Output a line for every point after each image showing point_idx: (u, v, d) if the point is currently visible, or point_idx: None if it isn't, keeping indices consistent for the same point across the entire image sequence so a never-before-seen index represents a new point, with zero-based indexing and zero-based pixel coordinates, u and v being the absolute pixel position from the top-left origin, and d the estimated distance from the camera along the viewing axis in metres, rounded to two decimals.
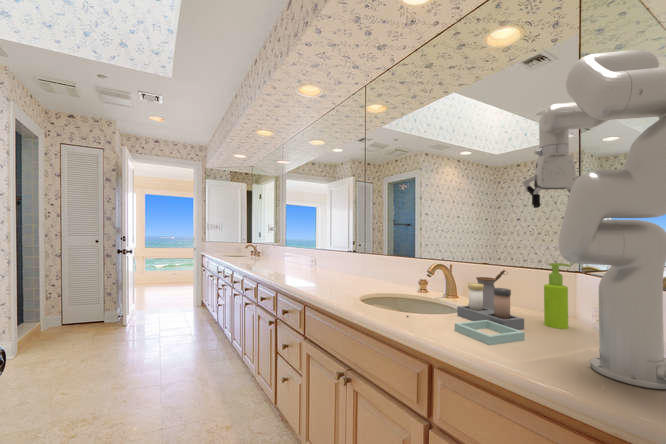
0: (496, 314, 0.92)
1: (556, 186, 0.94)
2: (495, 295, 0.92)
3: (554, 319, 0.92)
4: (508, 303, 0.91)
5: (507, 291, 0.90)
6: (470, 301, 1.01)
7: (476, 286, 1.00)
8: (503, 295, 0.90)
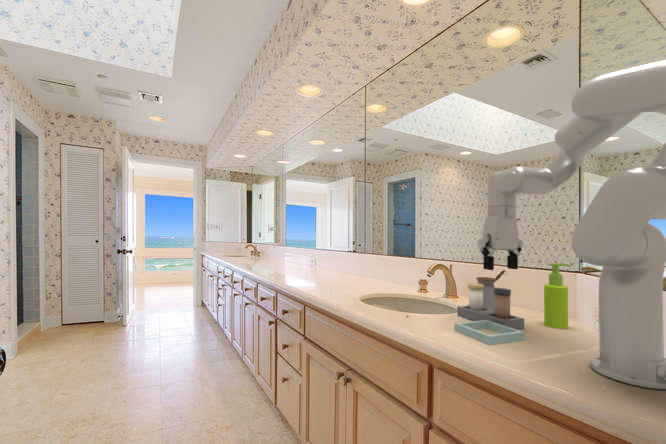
0: (496, 314, 0.92)
1: None
2: (495, 295, 0.92)
3: (554, 319, 0.92)
4: (508, 303, 0.91)
5: (507, 291, 0.90)
6: (470, 301, 1.01)
7: (476, 286, 1.00)
8: (503, 295, 0.90)
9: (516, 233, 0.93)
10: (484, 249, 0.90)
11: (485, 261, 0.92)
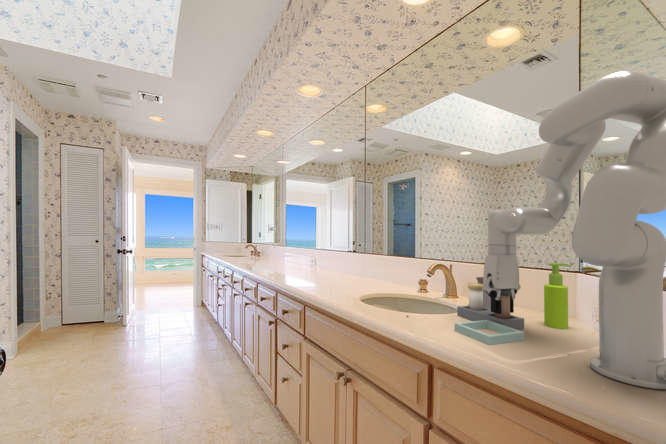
0: (496, 314, 0.92)
1: None
2: None
3: (554, 319, 0.92)
4: (508, 303, 0.91)
5: (507, 291, 0.90)
6: (470, 301, 1.01)
7: (476, 286, 1.00)
8: (503, 295, 0.90)
9: (517, 272, 0.92)
10: (491, 293, 0.90)
11: (492, 304, 0.91)
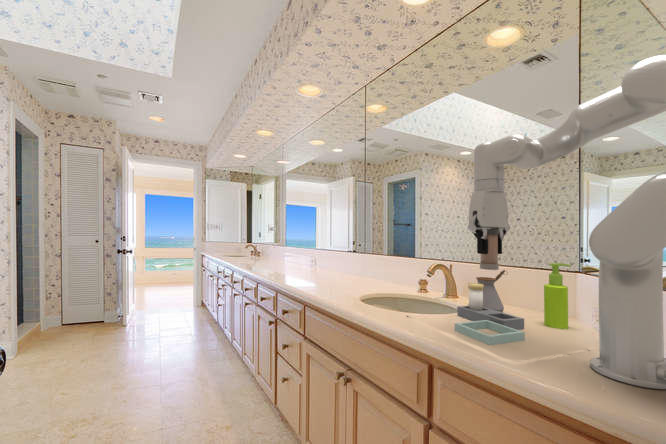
0: (482, 255, 0.85)
1: None
2: None
3: (554, 319, 0.92)
4: (495, 243, 0.83)
5: (494, 229, 0.83)
6: (470, 301, 1.01)
7: (476, 286, 1.00)
8: (490, 234, 0.83)
9: (505, 210, 0.85)
10: (477, 231, 0.83)
11: (479, 245, 0.84)
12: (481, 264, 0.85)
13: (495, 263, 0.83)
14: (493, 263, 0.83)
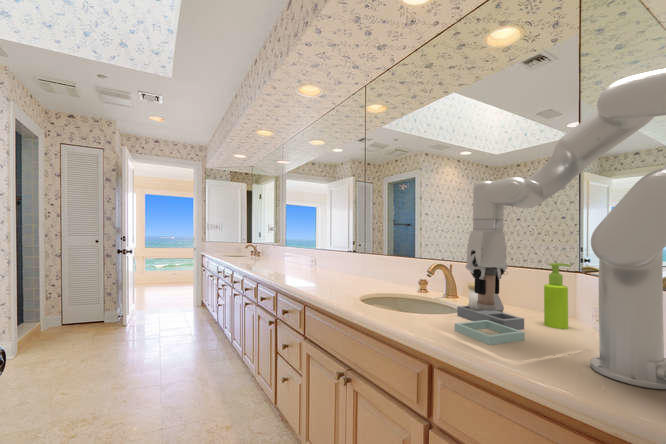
0: (479, 295, 0.84)
1: None
2: None
3: (554, 319, 0.92)
4: (493, 283, 0.83)
5: (492, 269, 0.82)
6: (470, 301, 1.01)
7: None
8: (488, 274, 0.82)
9: (504, 249, 0.84)
10: (475, 272, 0.82)
11: (476, 284, 0.83)
12: (478, 304, 0.84)
13: (492, 304, 0.82)
14: (490, 304, 0.82)
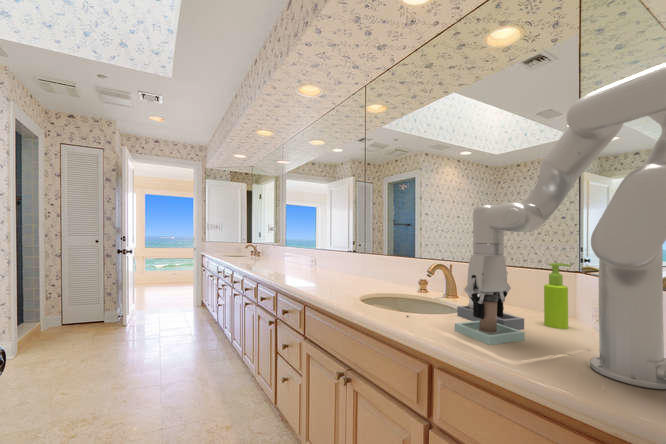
0: (481, 322, 0.83)
1: None
2: None
3: (554, 319, 0.92)
4: (495, 310, 0.82)
5: (493, 296, 0.82)
6: (470, 301, 1.01)
7: None
8: (489, 301, 0.82)
9: (504, 273, 0.84)
10: (473, 296, 0.81)
11: (475, 308, 0.83)
12: (480, 331, 0.83)
13: (494, 331, 0.82)
14: (492, 331, 0.82)
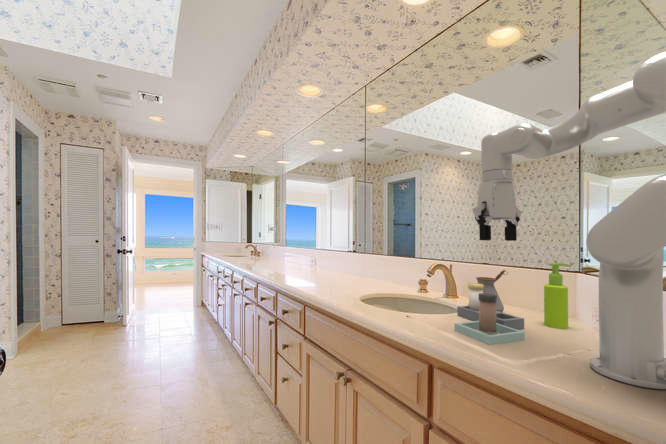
0: (481, 322, 0.83)
1: None
2: (480, 301, 0.84)
3: (554, 319, 0.92)
4: (494, 310, 0.82)
5: (492, 296, 0.82)
6: (470, 301, 1.01)
7: (476, 286, 1.00)
8: (488, 301, 0.82)
9: (513, 200, 0.85)
10: (480, 217, 0.81)
11: (481, 231, 0.83)
12: (480, 331, 0.83)
13: (494, 331, 0.82)
14: (492, 331, 0.82)
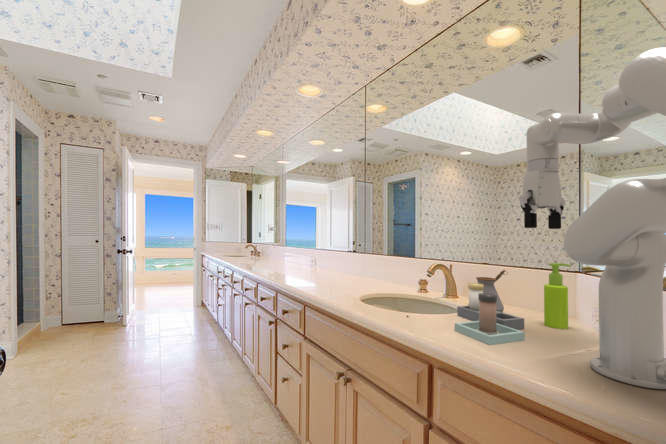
0: (481, 322, 0.83)
1: None
2: (480, 301, 0.84)
3: (554, 319, 0.92)
4: (494, 310, 0.82)
5: (492, 296, 0.82)
6: (470, 301, 1.01)
7: (476, 286, 1.00)
8: (488, 301, 0.82)
9: (559, 189, 0.86)
10: (526, 205, 0.84)
11: (527, 219, 0.85)
12: (480, 331, 0.83)
13: (494, 331, 0.82)
14: (492, 331, 0.82)
